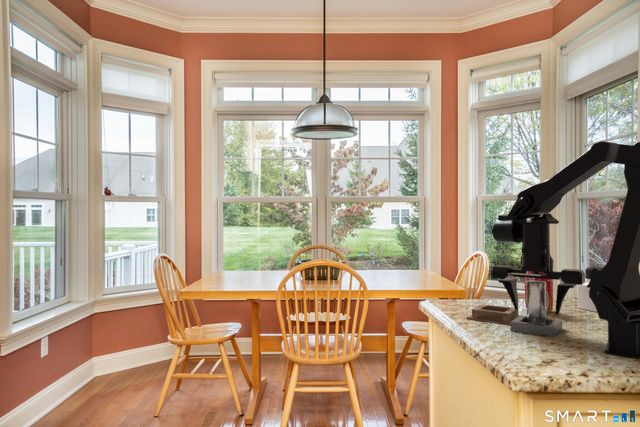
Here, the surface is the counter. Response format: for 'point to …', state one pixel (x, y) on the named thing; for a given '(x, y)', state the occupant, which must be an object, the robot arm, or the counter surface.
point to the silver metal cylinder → (536, 302)
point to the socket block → (536, 326)
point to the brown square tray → (494, 314)
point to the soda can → (548, 291)
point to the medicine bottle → (586, 293)
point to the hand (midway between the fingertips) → (536, 312)
